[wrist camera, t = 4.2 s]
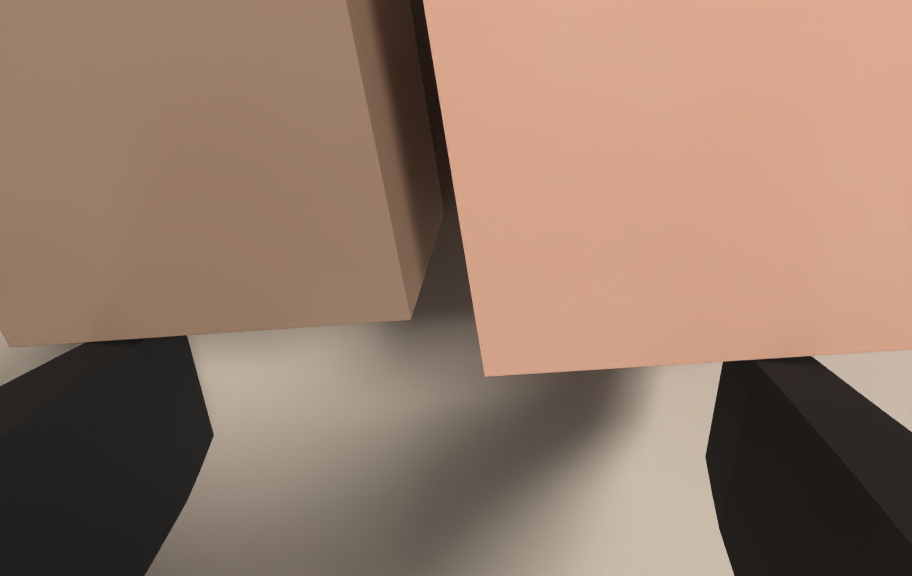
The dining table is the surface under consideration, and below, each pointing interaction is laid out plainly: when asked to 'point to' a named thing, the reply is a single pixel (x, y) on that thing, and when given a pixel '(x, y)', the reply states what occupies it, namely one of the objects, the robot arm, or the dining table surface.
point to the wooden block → (210, 167)
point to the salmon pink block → (679, 177)
